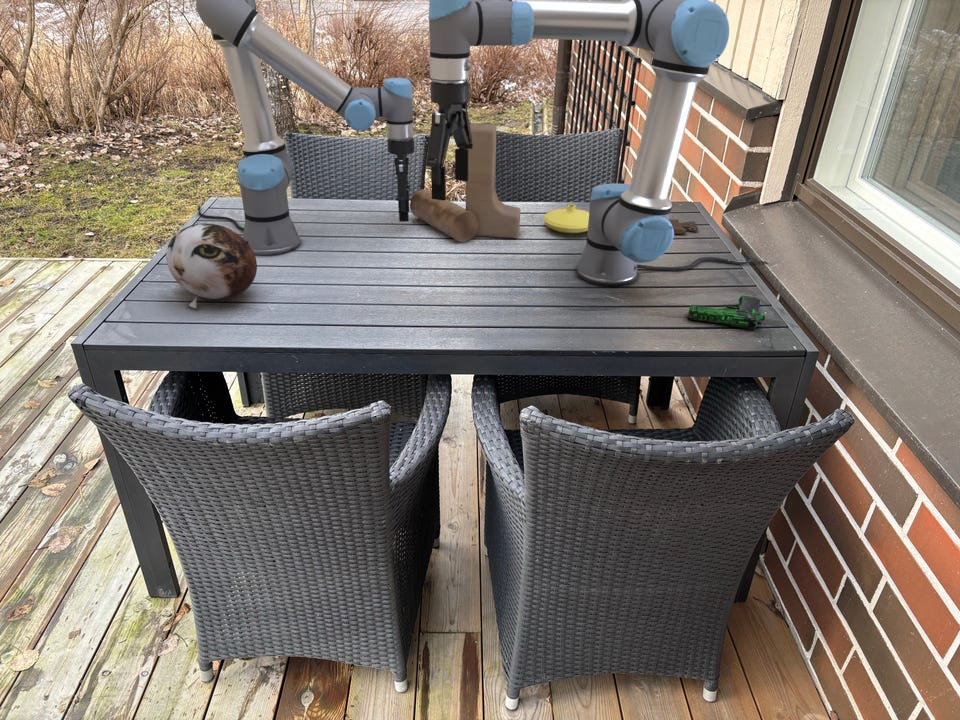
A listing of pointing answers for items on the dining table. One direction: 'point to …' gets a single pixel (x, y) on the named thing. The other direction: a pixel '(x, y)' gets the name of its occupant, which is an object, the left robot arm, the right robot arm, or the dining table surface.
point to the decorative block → (487, 187)
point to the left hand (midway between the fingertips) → (404, 216)
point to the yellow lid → (567, 220)
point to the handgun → (731, 314)
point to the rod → (444, 216)
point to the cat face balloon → (211, 261)
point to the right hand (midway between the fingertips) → (450, 189)
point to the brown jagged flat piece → (682, 226)
